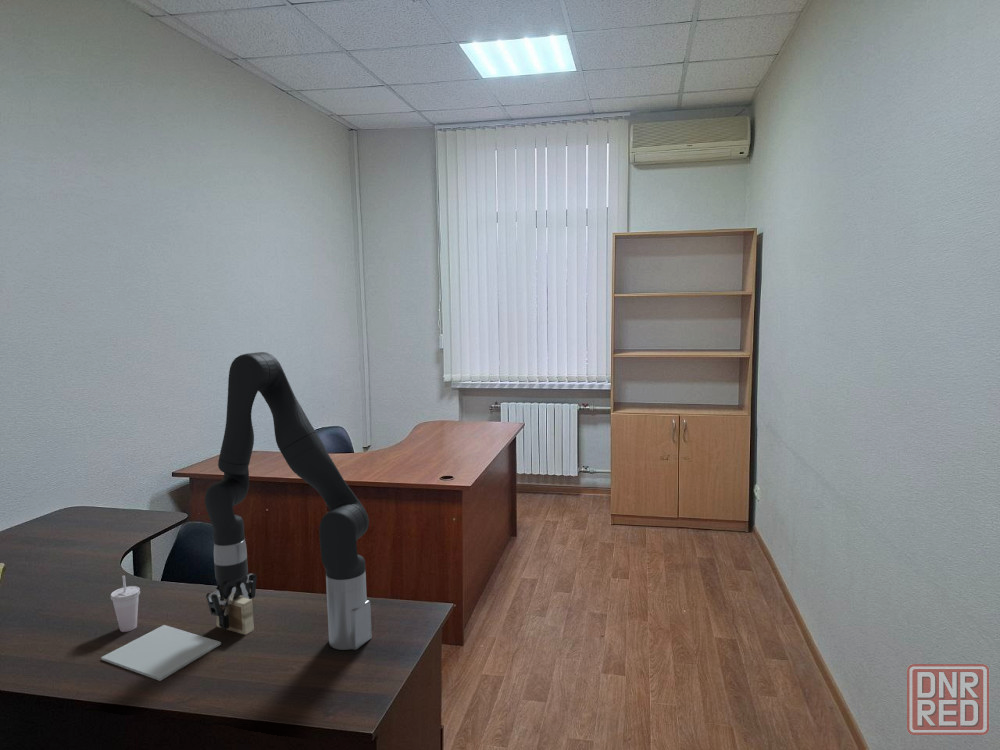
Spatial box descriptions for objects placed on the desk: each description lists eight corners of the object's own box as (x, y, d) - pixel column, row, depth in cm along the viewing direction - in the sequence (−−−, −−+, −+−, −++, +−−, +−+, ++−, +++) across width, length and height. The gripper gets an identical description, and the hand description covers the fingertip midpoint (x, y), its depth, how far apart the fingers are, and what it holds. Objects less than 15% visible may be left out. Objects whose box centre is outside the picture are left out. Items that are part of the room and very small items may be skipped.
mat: (220, 644, 150) (220, 641, 150) (160, 680, 136) (159, 678, 136) (164, 627, 159) (164, 624, 159) (101, 659, 145) (101, 657, 144)
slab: (253, 630, 157) (252, 599, 156) (245, 635, 155) (243, 604, 154) (225, 621, 161) (223, 592, 160) (216, 626, 159) (214, 596, 158)
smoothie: (112, 637, 154) (107, 582, 153) (114, 625, 160) (109, 572, 158) (142, 630, 157) (137, 577, 156) (143, 619, 163) (139, 567, 161)
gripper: (217, 572, 148) (222, 640, 150) (264, 550, 161) (267, 612, 163) (195, 566, 151) (199, 633, 153) (242, 545, 164) (246, 607, 166)
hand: (234, 622), depth 158 cm, fingers open, 5 cm apart
